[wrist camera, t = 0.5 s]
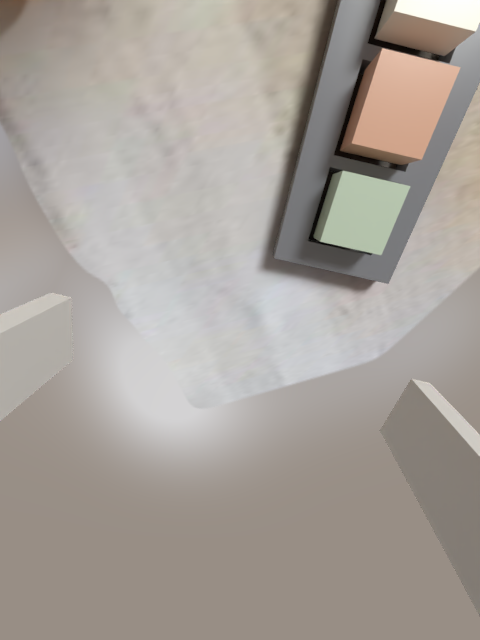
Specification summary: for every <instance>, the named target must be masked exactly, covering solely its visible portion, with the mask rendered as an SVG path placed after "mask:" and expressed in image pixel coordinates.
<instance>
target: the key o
mask: <svg viewBox="0 0 480 640" xmlns="http://www.w3.org/2000/svg"><path fill="white" fill-rule="evenodd" d="M409 189H410V186H407V185H403V184H399V183H395V182H390V181H386V180H382V179H377V178H373V177H369V176H365V175H360V174H356V173H352V172H347V171H340V172H338V173H335V174H333V175H332V178H331V181H330V184H329V188H328V191H327V194H326V197H325V200H324V204H323V207H322V210H321V213H320V217H319V220H318V223H317V226H316V230H315V233H314V236H313V237H314V238H315V239H317V240H318V241H320V242H324V243H329V244H333V245H338V246H342V247H347V248H351V249H355V250H360V251H364V252H369V253H373V254H378V255H382V253H383V250H384V248H385V246H386V243H387V241H388V239H389V236H390V234H391V231H392V229H393V227H394V224H395V222H396V220H397V217H398V215H399V212H400V210H401V208H402V205H403V203H404V201H405V198H406V196H407V194H408V191H409Z"/></svg>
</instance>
